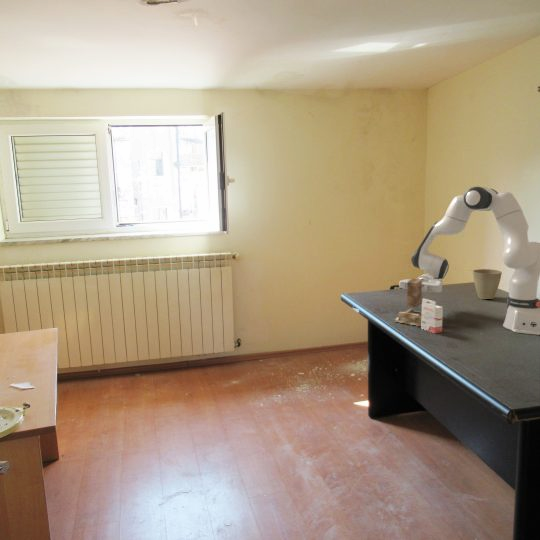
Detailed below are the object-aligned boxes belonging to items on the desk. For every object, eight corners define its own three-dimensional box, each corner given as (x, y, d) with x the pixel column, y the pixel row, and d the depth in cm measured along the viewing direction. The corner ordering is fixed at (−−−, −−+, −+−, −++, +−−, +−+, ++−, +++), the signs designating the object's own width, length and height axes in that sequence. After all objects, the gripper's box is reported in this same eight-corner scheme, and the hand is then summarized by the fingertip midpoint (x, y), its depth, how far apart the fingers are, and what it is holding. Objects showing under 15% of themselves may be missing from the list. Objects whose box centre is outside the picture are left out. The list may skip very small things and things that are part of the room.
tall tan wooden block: (421, 303, 231) (421, 279, 228) (416, 307, 225) (416, 283, 222) (412, 301, 233) (412, 278, 230) (407, 306, 228) (407, 282, 225)
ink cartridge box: (442, 332, 213) (444, 300, 210) (434, 333, 210) (435, 301, 208) (428, 327, 220) (429, 296, 218) (420, 328, 218) (421, 298, 215)
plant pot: (494, 295, 276) (496, 268, 273) (504, 301, 261) (506, 273, 259) (467, 295, 278) (469, 268, 275) (476, 301, 263) (477, 273, 260)
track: (433, 319, 232) (433, 308, 231) (422, 327, 220) (422, 315, 219) (405, 315, 240) (405, 304, 239) (393, 322, 229) (394, 311, 228)
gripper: (405, 275, 244) (394, 280, 233) (445, 279, 232) (436, 284, 221) (404, 287, 245) (394, 292, 234) (444, 291, 233) (435, 297, 222)
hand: (414, 288), depth 228 cm, fingers closed on tall tan wooden block, 4 cm apart
